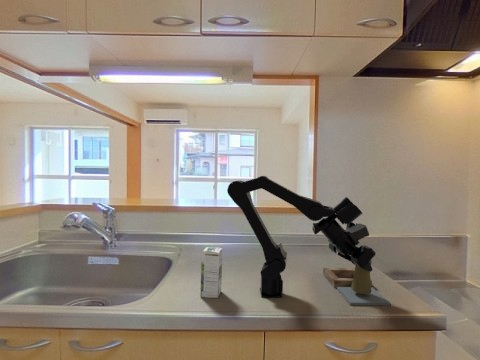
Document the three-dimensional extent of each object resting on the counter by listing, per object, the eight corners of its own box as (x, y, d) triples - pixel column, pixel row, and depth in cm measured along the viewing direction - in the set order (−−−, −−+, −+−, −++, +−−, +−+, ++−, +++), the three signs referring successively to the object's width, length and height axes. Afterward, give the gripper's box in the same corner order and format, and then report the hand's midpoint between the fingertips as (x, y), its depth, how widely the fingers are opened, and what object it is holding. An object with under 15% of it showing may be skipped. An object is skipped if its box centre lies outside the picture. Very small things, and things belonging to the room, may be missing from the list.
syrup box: (204, 290, 100) (205, 246, 100) (222, 291, 100) (222, 247, 99) (200, 297, 95) (200, 251, 94) (218, 298, 94) (219, 252, 93)
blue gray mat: (350, 305, 91) (350, 302, 91) (337, 289, 103) (337, 286, 103) (390, 305, 91) (390, 302, 91) (372, 289, 103) (372, 287, 103)
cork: (354, 284, 101) (356, 252, 101) (374, 289, 98) (375, 255, 97) (348, 290, 97) (350, 255, 96) (368, 295, 93) (370, 260, 92)
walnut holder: (334, 287, 104) (334, 280, 104) (323, 274, 117) (323, 267, 117) (371, 287, 105) (371, 280, 105) (356, 274, 118) (356, 268, 118)
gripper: (370, 220, 86) (403, 258, 89) (338, 211, 105) (366, 242, 107) (344, 248, 85) (377, 286, 88) (316, 234, 104) (344, 265, 106)
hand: (366, 267), depth 97 cm, fingers closed on cork, 5 cm apart
